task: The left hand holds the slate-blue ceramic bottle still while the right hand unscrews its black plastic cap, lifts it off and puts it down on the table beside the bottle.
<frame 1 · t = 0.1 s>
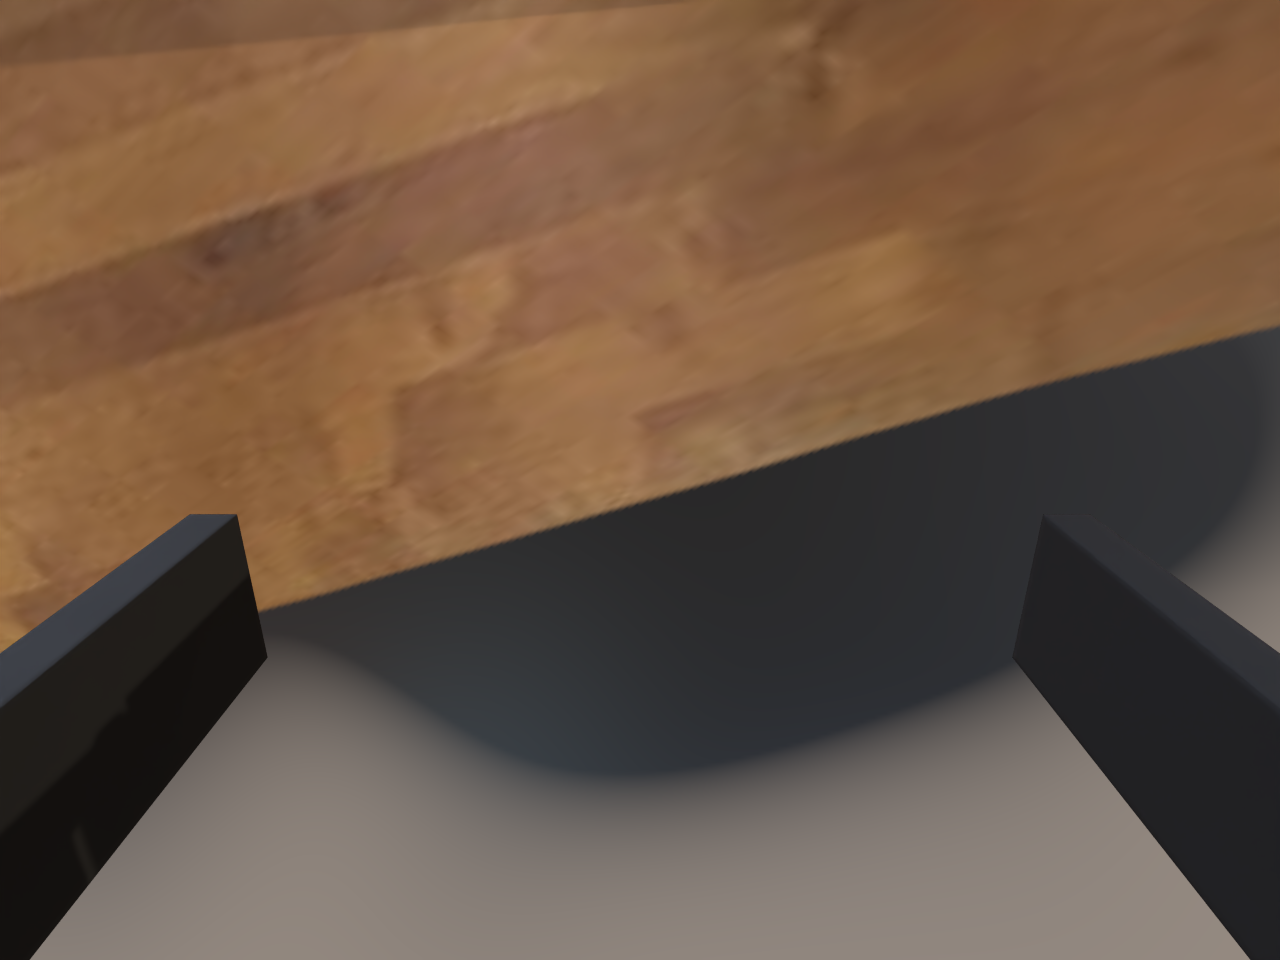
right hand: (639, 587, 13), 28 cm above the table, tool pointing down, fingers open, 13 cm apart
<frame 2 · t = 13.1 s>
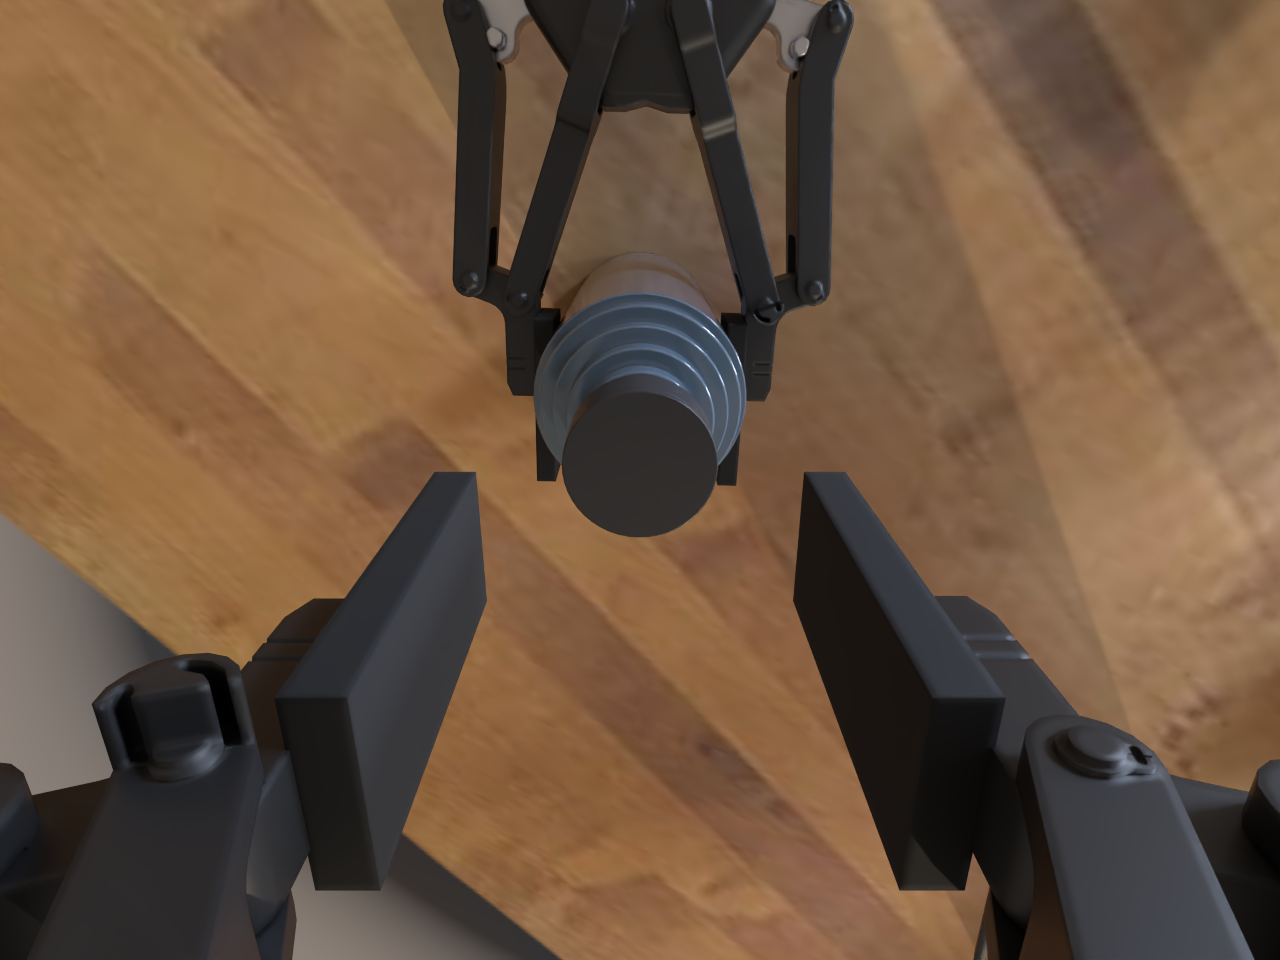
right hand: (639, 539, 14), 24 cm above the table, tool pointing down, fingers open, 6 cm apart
left hand: (637, 470, 32), fingers closed on bottle, 7 cm apart
bottle: (640, 323, 36), on the table, touching left hand
cap: (639, 463, 18), point 20 cm above the table, screwed on, not yet turned
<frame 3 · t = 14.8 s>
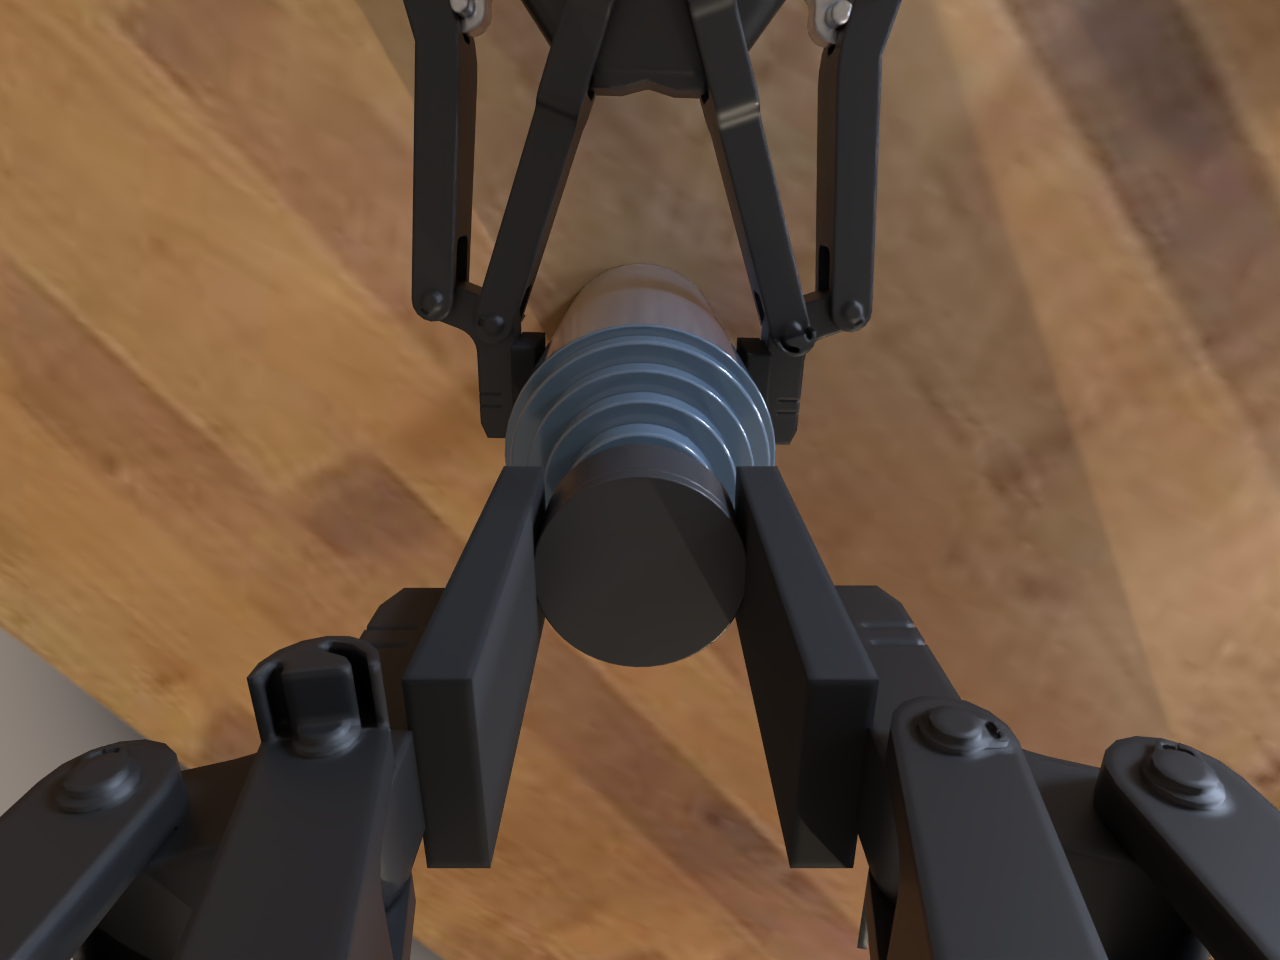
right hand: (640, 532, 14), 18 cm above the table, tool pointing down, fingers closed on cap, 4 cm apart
left hand: (636, 523, 27), fingers closed on bottle, 7 cm apart
bottle: (640, 345, 31), on the table, touching left hand
cap: (640, 568, 13), point 20 cm above the table, screwed on, not yet turned, touching right hand
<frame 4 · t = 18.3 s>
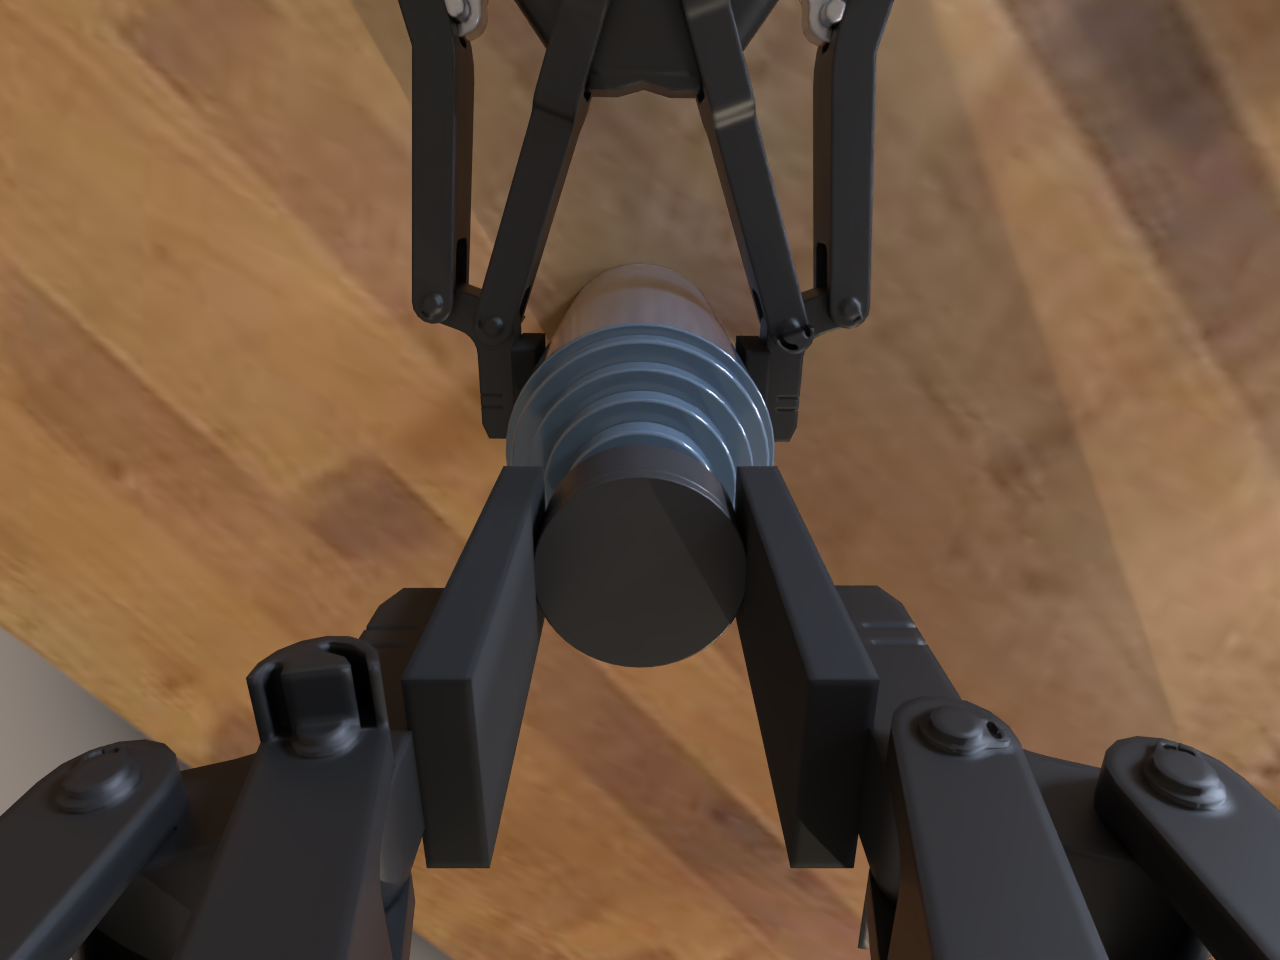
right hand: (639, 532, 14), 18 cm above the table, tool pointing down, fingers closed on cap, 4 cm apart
left hand: (638, 522, 27), fingers closed on bottle, 7 cm apart
bottle: (640, 344, 31), on the table, touching left hand
cap: (640, 568, 13), point 20 cm above the table, turned 128° so far, risen 0.1 cm, still on its thread, touching right hand
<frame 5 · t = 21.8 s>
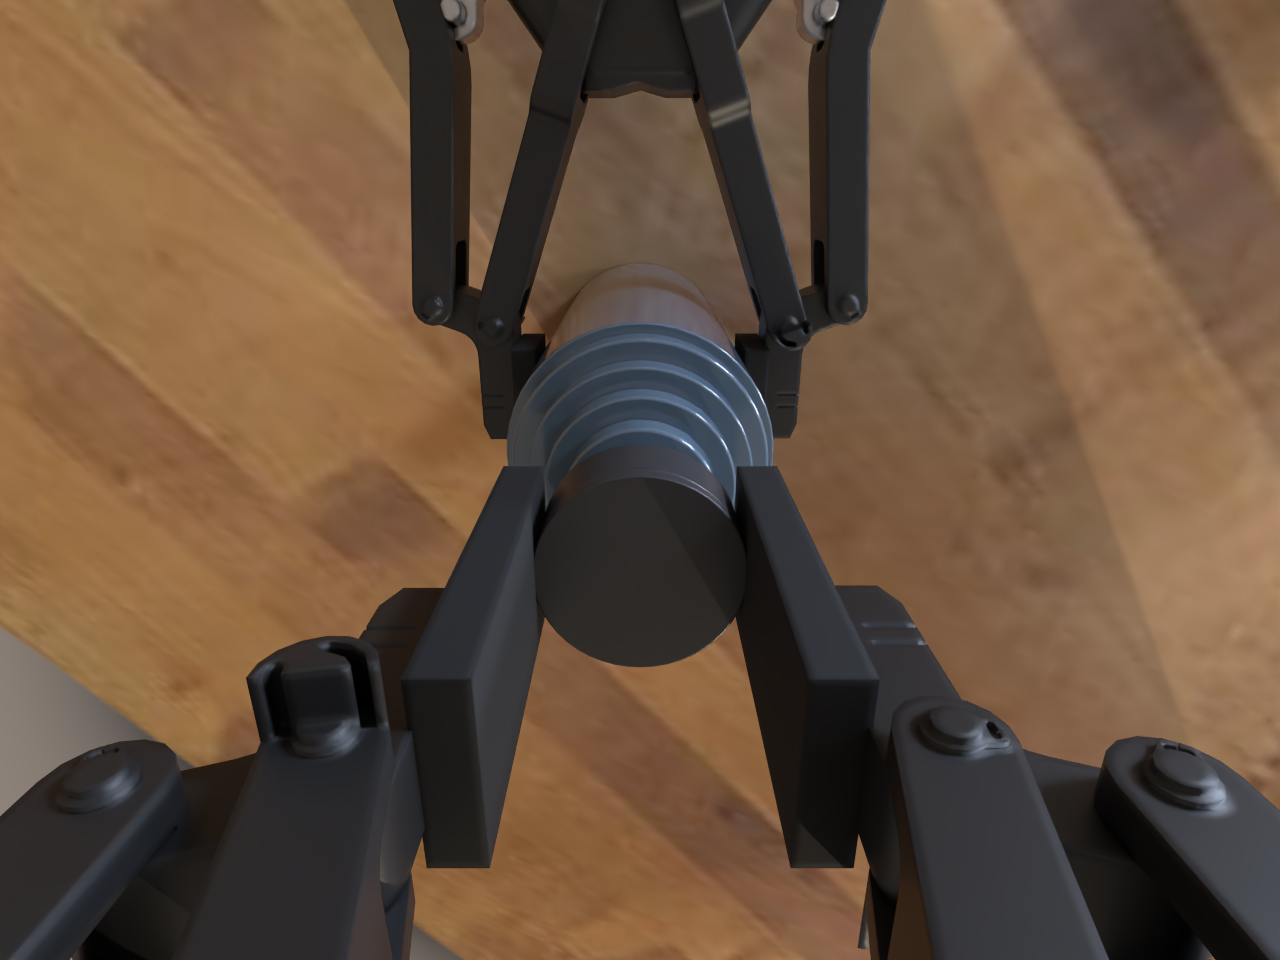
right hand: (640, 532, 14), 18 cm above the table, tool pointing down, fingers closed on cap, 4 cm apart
left hand: (640, 520, 27), fingers closed on bottle, 7 cm apart
bottle: (640, 344, 32), on the table, touching left hand
cap: (640, 568, 13), point 20 cm above the table, turned 256° so far, risen 0.3 cm, still on its thread, touching right hand
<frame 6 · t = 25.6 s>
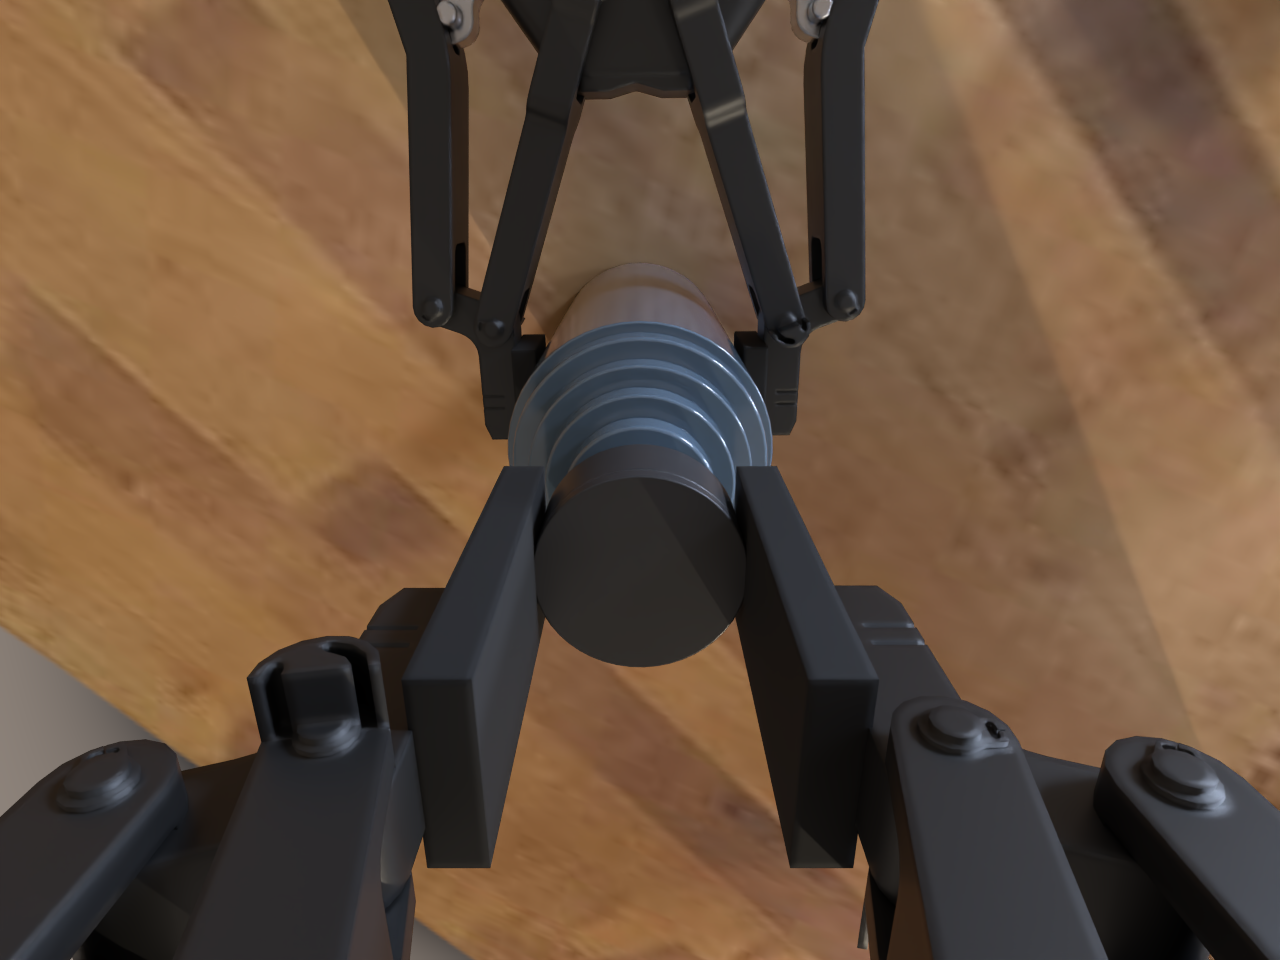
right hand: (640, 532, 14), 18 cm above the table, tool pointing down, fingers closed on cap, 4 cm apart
left hand: (642, 519, 27), fingers closed on bottle, 7 cm apart
bottle: (640, 343, 32), on the table, touching left hand
cap: (640, 568, 13), point 20 cm above the table, turned 384° so far, risen 0.4 cm, still on its thread, touching right hand
when the right hand's fingers open (2 cm above the table, at t = 32.6 s): cap drops 2 cm, point 1 cm above the table.
when the left hand's fingers open (7 cm above the table, at t = 33.8 s): bottle stays where it is, on the table.
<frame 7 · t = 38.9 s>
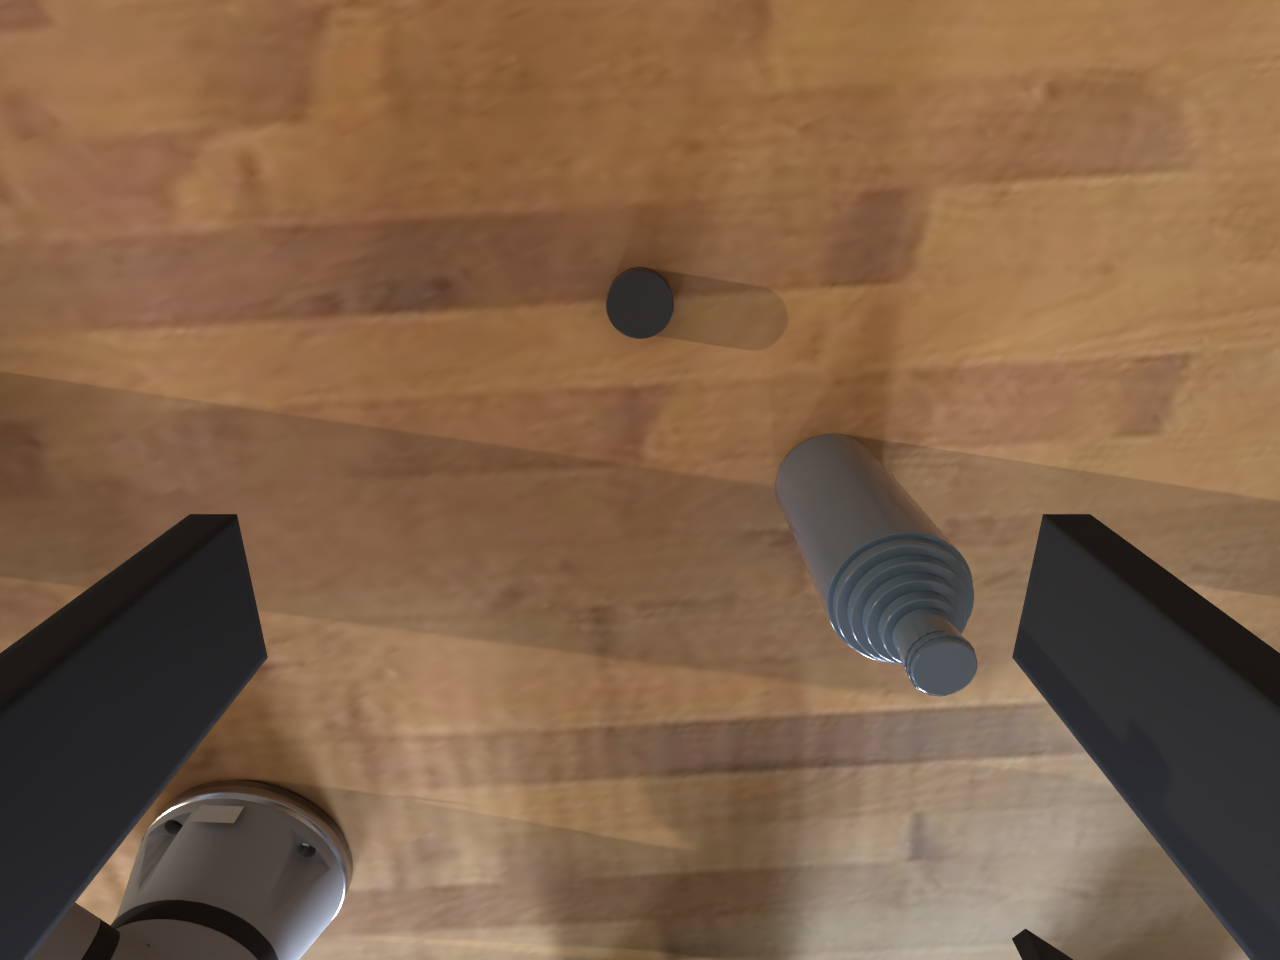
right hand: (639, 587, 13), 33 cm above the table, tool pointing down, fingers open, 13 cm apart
bottle: (828, 483, 47), on the table
cap: (639, 304, 42), point 1 cm above the table, off its thread
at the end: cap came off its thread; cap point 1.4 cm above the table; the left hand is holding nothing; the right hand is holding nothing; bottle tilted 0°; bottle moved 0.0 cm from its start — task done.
